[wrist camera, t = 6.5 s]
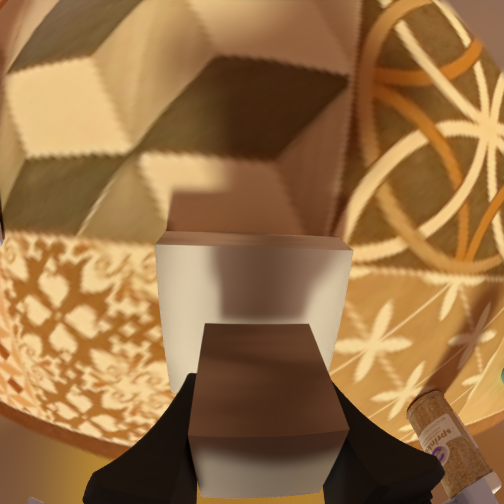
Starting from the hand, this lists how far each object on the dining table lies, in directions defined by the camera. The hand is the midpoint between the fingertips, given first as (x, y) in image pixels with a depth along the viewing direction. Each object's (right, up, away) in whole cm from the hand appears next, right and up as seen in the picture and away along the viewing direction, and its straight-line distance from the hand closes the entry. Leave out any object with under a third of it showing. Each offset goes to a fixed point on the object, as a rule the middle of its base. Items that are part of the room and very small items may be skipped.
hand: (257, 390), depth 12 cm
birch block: (0, +2, +7) cm, 8 cm away
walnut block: (0, +1, +1) cm, 2 cm away
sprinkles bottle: (+17, -9, +12) cm, 23 cm away
